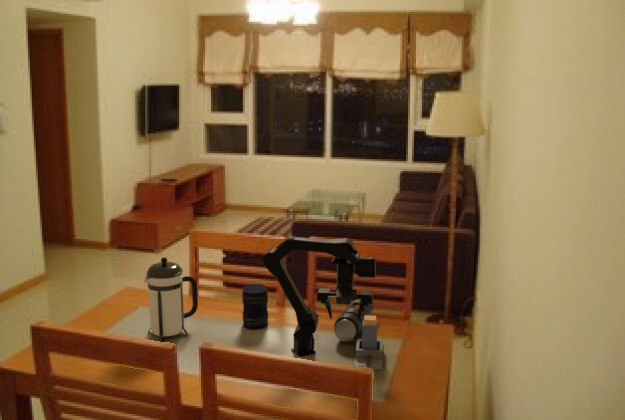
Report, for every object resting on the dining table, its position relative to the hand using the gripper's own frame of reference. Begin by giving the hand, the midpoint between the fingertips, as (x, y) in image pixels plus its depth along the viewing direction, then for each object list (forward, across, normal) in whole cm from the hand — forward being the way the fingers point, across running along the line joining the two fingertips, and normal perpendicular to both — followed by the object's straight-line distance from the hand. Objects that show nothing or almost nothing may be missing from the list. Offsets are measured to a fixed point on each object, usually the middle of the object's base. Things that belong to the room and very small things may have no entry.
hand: (344, 319), depth 205 cm
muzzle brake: (+13, +2, +21) cm, 25 cm away
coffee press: (+13, -66, +9) cm, 68 cm away
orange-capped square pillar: (+12, +9, 0) cm, 15 cm away
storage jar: (+13, -36, +21) cm, 44 cm away
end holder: (+13, +9, 0) cm, 16 cm away
